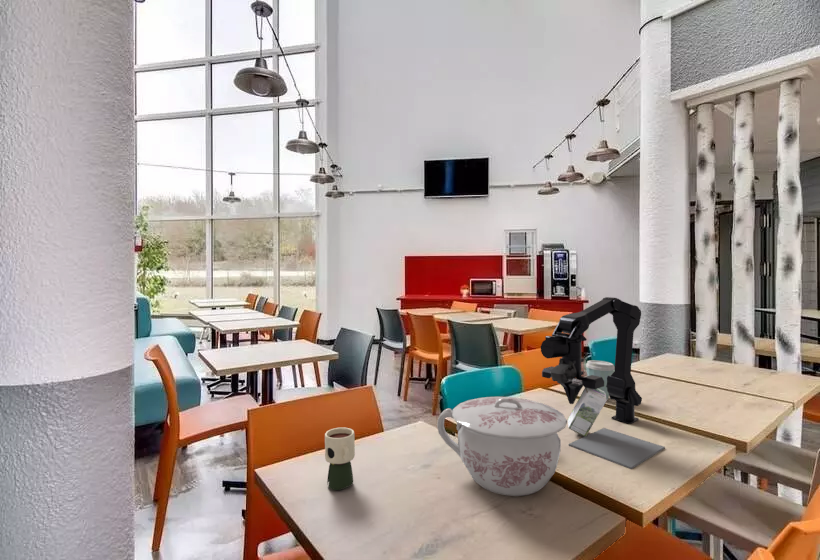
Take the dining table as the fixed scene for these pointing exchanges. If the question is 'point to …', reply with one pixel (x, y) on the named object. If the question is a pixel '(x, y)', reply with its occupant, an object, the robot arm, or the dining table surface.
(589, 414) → the syrup box
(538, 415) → the chamber pot
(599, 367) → the disposable coffee cup
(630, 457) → the mat
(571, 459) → the dining table surface
